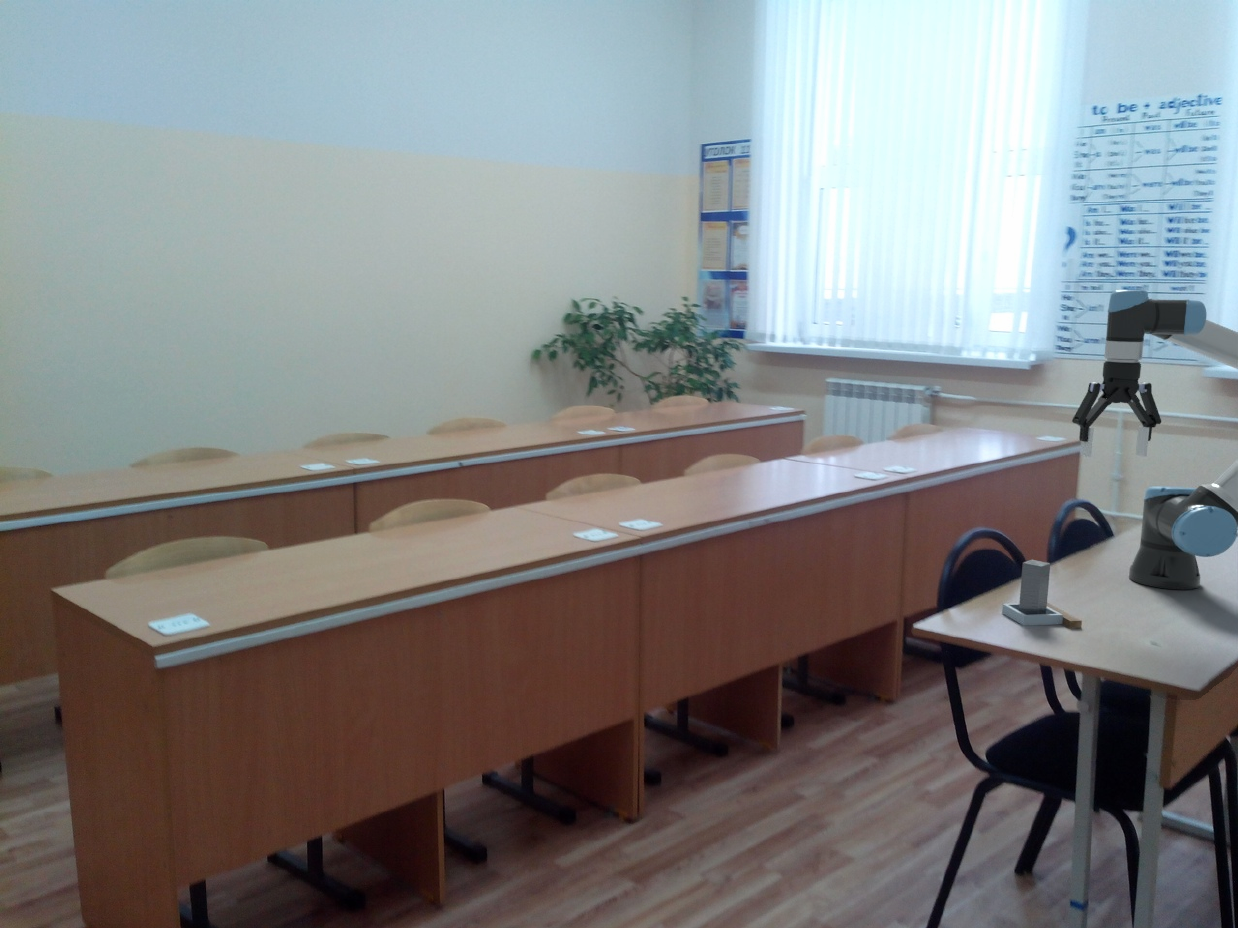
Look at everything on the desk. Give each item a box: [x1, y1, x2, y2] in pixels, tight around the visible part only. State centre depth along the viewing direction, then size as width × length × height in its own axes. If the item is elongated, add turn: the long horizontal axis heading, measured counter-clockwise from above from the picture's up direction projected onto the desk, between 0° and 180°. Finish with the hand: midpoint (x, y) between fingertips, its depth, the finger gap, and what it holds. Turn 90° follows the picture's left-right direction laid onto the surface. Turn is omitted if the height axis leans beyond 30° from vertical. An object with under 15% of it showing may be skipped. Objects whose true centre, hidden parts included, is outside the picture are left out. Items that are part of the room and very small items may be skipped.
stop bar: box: [1019, 559, 1051, 615], centre depth 219 cm, size 4×4×12 cm
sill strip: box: [1047, 602, 1083, 629], centre depth 221 cm, size 2×14×2 cm, turn 9°
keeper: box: [1001, 602, 1063, 627], centre depth 220 cm, size 9×9×2 cm
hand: (1113, 456), depth 235 cm, fingers open, 13 cm apart
